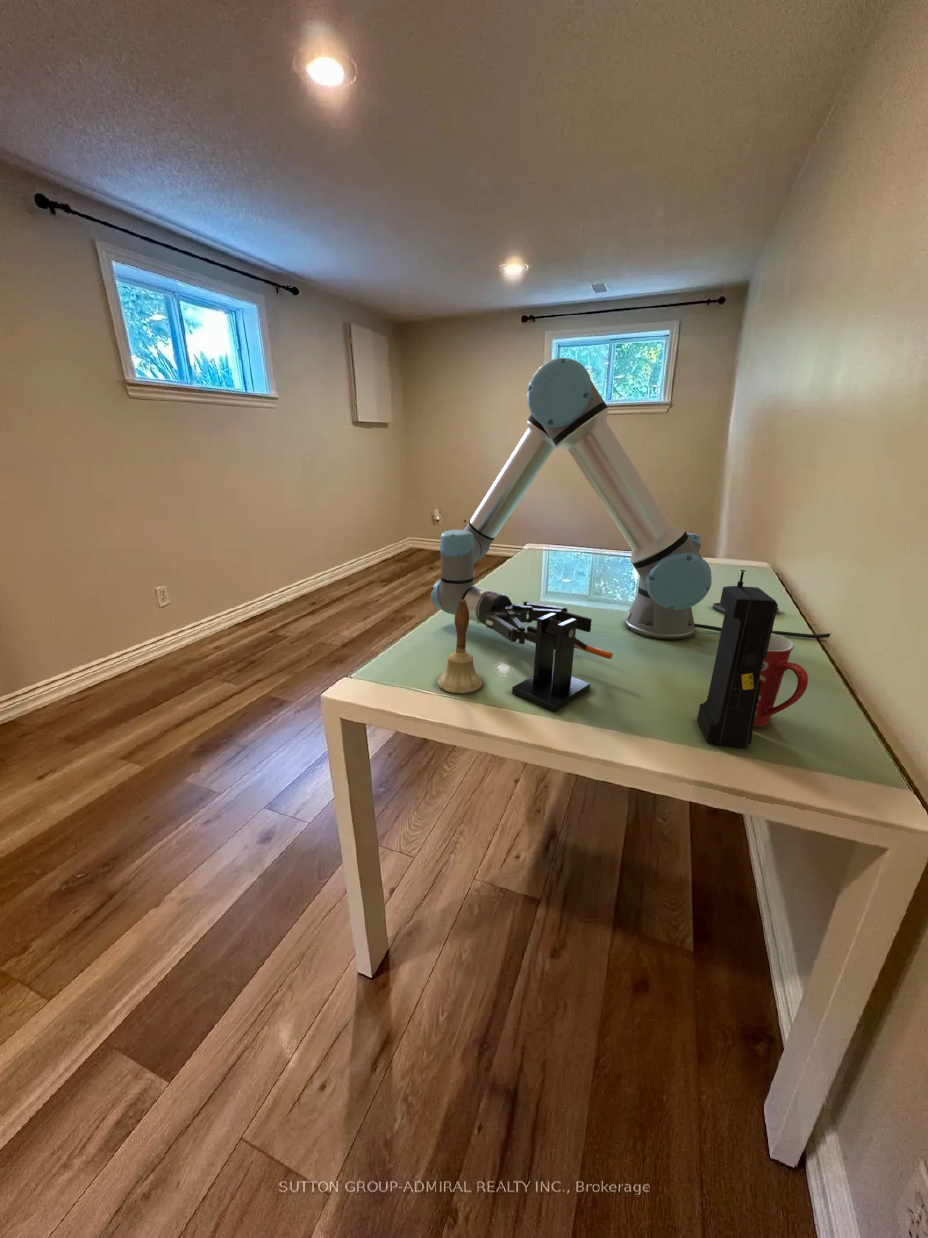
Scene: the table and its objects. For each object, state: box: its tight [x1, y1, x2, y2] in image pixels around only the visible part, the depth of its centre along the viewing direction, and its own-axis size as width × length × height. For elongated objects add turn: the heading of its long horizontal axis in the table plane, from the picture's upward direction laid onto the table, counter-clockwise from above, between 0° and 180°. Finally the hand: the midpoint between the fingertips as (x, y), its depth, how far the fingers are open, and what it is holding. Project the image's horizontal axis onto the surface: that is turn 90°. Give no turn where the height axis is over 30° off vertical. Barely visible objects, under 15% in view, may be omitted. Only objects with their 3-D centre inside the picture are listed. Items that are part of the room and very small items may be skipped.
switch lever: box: [545, 618, 614, 660], centre depth 87 cm, size 14×11×2 cm
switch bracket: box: [511, 613, 591, 713], centre depth 85 cm, size 11×9×14 cm
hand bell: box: [436, 599, 484, 694], centre depth 87 cm, size 8×8×16 cm
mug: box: [753, 633, 809, 728], centre depth 76 cm, size 13×9×14 cm
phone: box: [712, 602, 780, 615], centre depth 130 cm, size 8×1×15 cm
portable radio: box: [696, 569, 779, 749], centre depth 70 cm, size 8×6×25 cm
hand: (574, 633), depth 94 cm, fingers open, 11 cm apart
